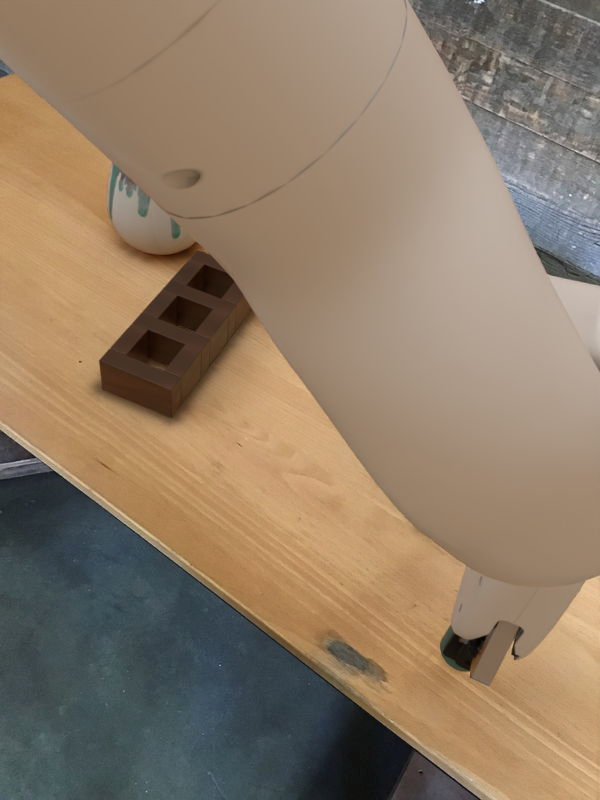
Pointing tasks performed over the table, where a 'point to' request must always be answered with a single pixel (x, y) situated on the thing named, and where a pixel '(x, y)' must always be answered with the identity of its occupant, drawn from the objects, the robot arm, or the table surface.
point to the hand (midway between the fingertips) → (471, 635)
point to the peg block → (176, 337)
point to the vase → (142, 218)
